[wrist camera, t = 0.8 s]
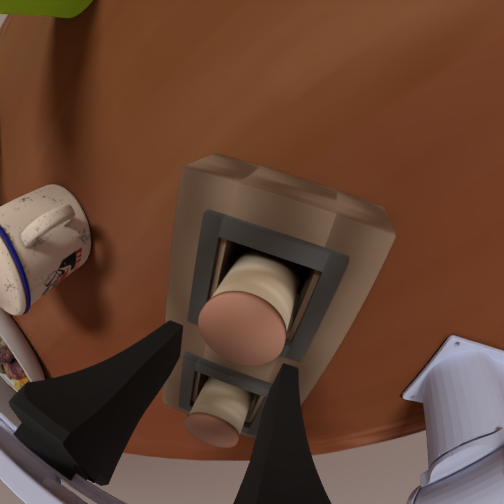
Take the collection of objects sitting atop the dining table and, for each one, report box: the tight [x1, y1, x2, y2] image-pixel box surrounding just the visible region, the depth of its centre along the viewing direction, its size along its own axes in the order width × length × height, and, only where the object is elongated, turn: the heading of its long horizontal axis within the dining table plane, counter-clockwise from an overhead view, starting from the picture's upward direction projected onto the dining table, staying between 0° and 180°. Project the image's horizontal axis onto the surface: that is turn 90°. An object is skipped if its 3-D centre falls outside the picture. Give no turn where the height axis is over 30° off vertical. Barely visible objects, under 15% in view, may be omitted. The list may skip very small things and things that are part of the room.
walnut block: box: [163, 154, 396, 439], centre depth 21 cm, size 11×22×5 cm, turn 166°
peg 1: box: [198, 249, 299, 365], centre depth 16 cm, size 4×4×5 cm
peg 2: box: [184, 376, 255, 448], centre depth 21 cm, size 4×4×5 cm
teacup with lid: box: [0, 184, 91, 315], centre depth 20 cm, size 12×9×12 cm
